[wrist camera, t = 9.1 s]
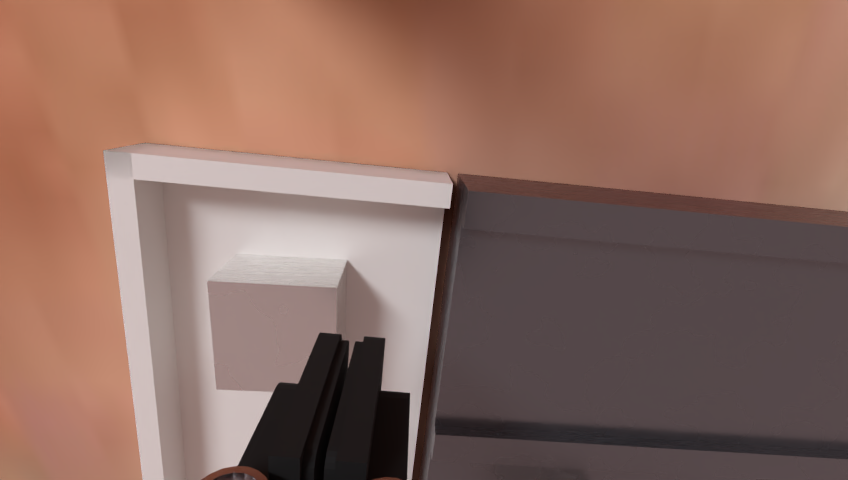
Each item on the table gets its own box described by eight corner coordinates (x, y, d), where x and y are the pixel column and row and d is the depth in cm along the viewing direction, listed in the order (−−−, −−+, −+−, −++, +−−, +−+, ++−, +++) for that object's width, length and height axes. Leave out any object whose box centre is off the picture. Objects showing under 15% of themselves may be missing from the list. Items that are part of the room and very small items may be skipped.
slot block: (915, 218, 17) (1016, 243, 14) (751, 571, 23) (800, 638, 20) (458, 173, 16) (468, 190, 13) (409, 556, 22) (409, 625, 19)
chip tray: (447, 172, 16) (452, 184, 14) (401, 556, 22) (400, 604, 20) (144, 142, 15) (103, 150, 13) (181, 547, 21) (156, 596, 19)
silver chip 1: (207, 280, 14) (236, 253, 16) (216, 389, 15) (242, 349, 17) (336, 287, 14) (347, 259, 16) (335, 394, 15) (345, 353, 18)
